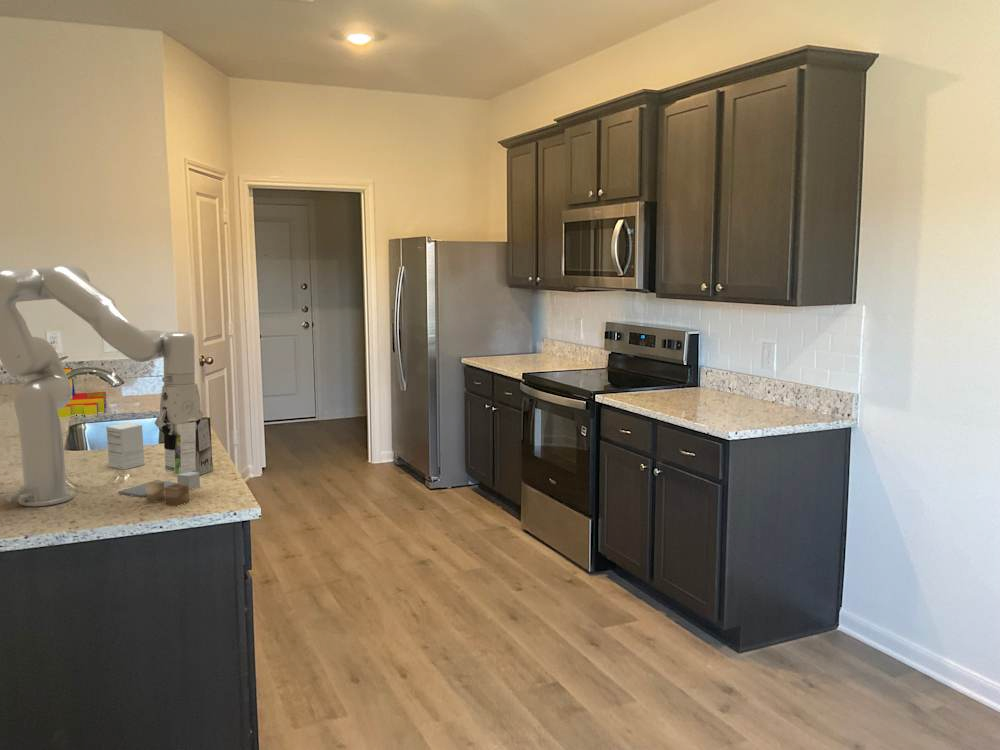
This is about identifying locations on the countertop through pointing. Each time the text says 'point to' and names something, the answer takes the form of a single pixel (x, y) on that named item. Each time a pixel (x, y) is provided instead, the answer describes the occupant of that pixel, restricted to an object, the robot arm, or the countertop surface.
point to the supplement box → (125, 445)
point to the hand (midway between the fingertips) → (180, 446)
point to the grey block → (189, 479)
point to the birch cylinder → (155, 491)
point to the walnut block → (176, 494)
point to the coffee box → (203, 447)
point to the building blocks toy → (83, 402)
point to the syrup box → (182, 449)
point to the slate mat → (142, 489)
